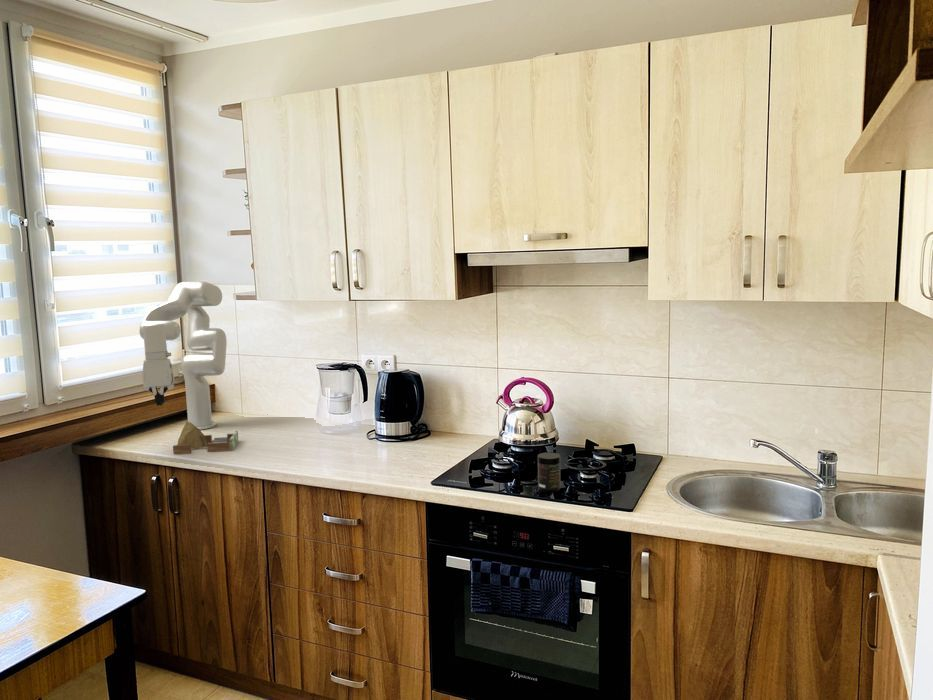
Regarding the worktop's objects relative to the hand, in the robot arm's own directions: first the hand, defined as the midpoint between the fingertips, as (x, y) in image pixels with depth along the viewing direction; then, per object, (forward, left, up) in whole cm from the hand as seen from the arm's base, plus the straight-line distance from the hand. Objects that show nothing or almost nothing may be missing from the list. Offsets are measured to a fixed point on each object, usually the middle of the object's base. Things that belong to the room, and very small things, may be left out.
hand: (160, 404), depth 265 cm
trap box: (-3, +16, -17) cm, 24 cm away
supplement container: (+75, +129, -18) cm, 150 cm away
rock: (0, +11, -18) cm, 21 cm away
